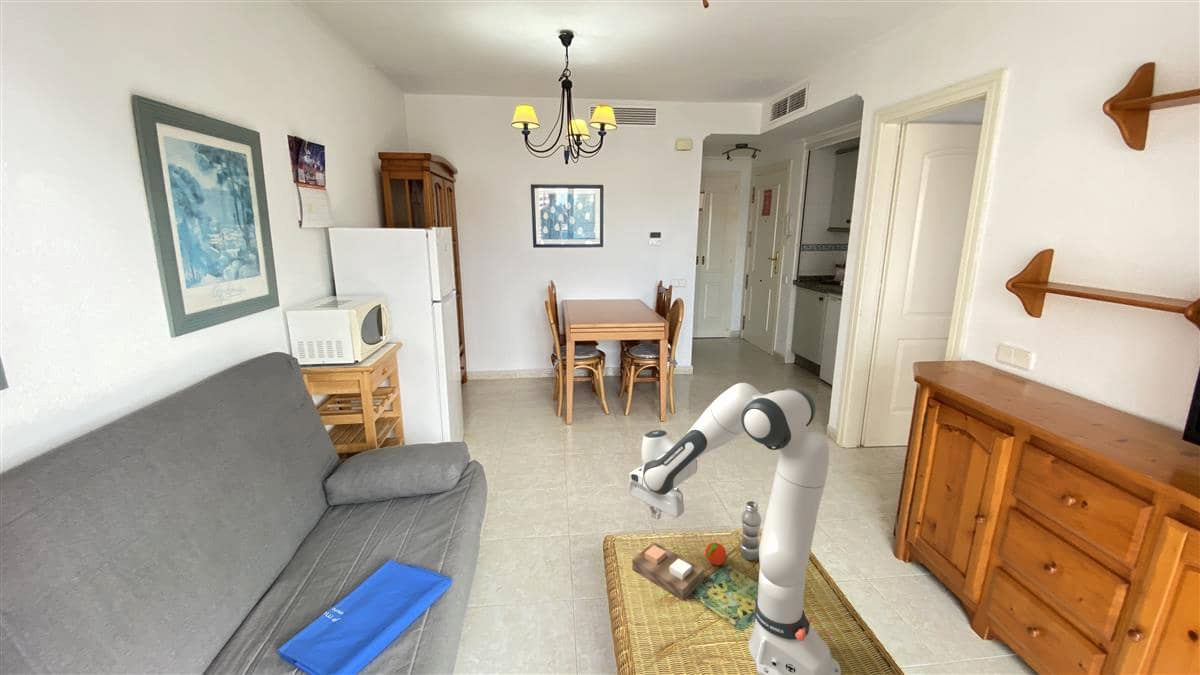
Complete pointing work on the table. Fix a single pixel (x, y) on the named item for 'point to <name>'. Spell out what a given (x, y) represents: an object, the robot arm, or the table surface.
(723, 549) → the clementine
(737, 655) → the table surface
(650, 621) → the table surface
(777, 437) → the robot arm
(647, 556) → the key terracotta
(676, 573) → the key ivory
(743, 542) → the plastic bottle
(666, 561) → the key console
